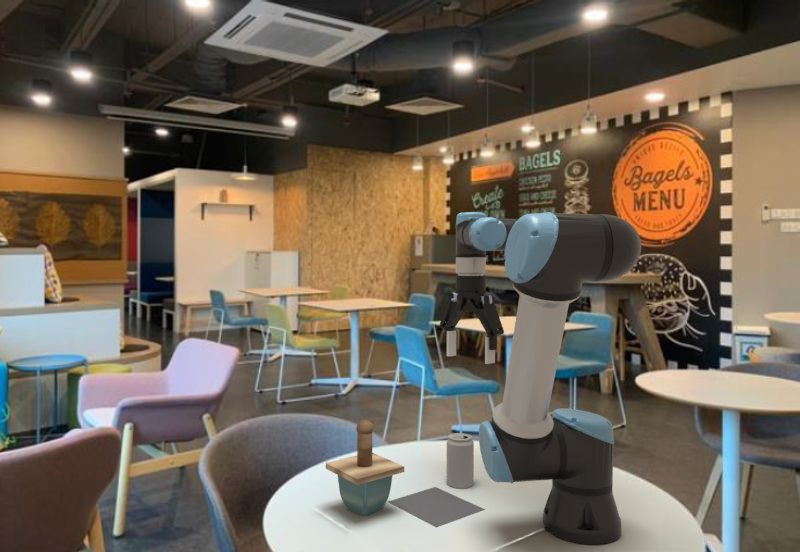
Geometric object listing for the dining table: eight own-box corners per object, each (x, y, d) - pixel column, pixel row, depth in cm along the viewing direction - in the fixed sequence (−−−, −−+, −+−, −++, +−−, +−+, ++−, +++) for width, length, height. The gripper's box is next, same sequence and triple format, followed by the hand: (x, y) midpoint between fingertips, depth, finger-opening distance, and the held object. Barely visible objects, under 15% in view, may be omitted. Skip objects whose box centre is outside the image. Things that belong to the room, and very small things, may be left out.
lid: (404, 472, 128) (404, 421, 128) (357, 485, 121) (357, 431, 121) (371, 457, 138) (371, 410, 138) (325, 468, 130) (325, 418, 130)
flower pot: (394, 510, 130) (394, 469, 130) (365, 524, 124) (365, 480, 123) (364, 499, 136) (365, 460, 136) (335, 512, 129) (335, 470, 129)
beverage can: (472, 492, 141) (472, 440, 140) (444, 490, 142) (445, 439, 141) (474, 482, 147) (474, 433, 146) (448, 480, 148) (448, 431, 148)
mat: (485, 512, 130) (485, 509, 130) (436, 530, 121) (436, 527, 121) (435, 489, 142) (435, 486, 142) (387, 504, 134) (387, 501, 134)
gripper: (519, 275, 144) (518, 364, 145) (447, 273, 164) (447, 351, 164) (497, 276, 140) (496, 368, 140) (426, 273, 159) (426, 354, 160)
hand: (470, 359), depth 152 cm, fingers open, 13 cm apart
